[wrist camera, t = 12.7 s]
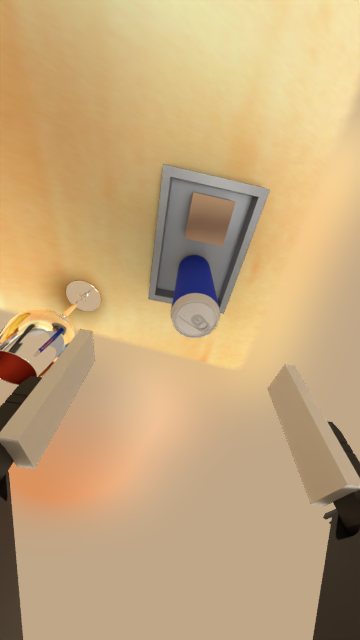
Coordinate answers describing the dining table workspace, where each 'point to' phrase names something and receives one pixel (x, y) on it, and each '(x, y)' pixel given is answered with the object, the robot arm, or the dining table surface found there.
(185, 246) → the tray
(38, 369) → the wineglass
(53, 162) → the dining table surface
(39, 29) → the dining table surface
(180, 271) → the beverage can
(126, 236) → the dining table surface
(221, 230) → the walnut block
